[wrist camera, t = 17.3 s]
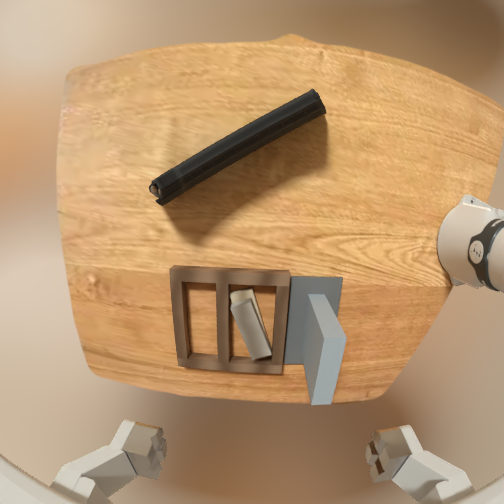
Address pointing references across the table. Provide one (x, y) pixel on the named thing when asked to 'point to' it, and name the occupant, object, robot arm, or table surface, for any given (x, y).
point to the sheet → (321, 349)
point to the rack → (228, 316)
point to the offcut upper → (251, 328)
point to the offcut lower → (247, 294)
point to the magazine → (236, 146)
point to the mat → (298, 309)
